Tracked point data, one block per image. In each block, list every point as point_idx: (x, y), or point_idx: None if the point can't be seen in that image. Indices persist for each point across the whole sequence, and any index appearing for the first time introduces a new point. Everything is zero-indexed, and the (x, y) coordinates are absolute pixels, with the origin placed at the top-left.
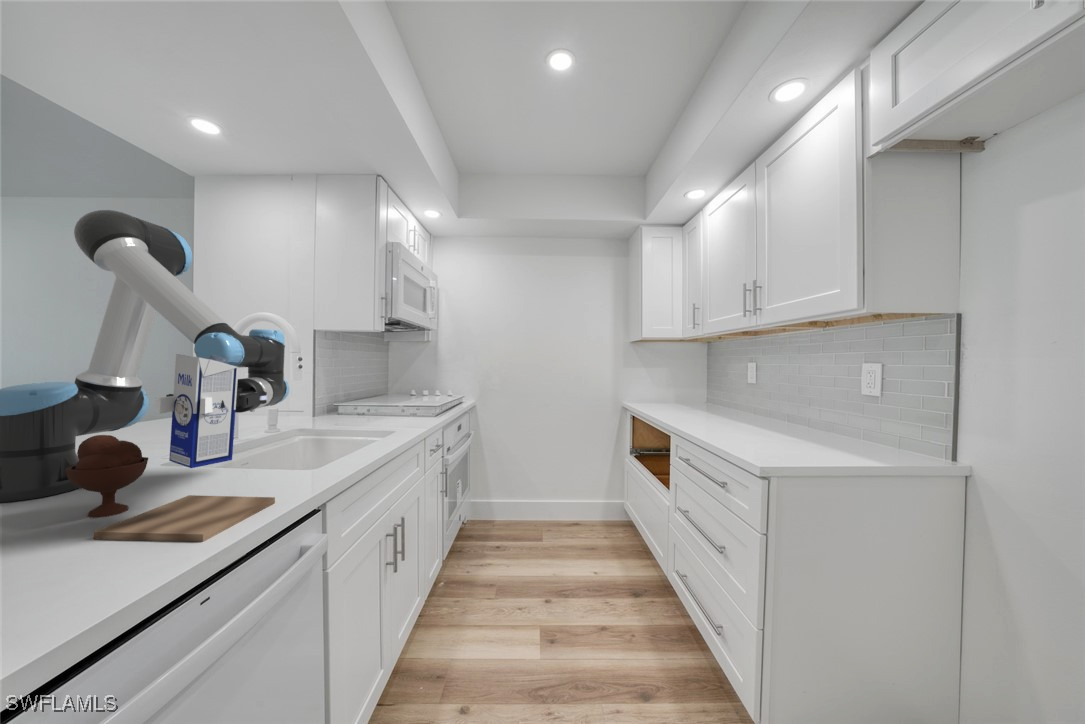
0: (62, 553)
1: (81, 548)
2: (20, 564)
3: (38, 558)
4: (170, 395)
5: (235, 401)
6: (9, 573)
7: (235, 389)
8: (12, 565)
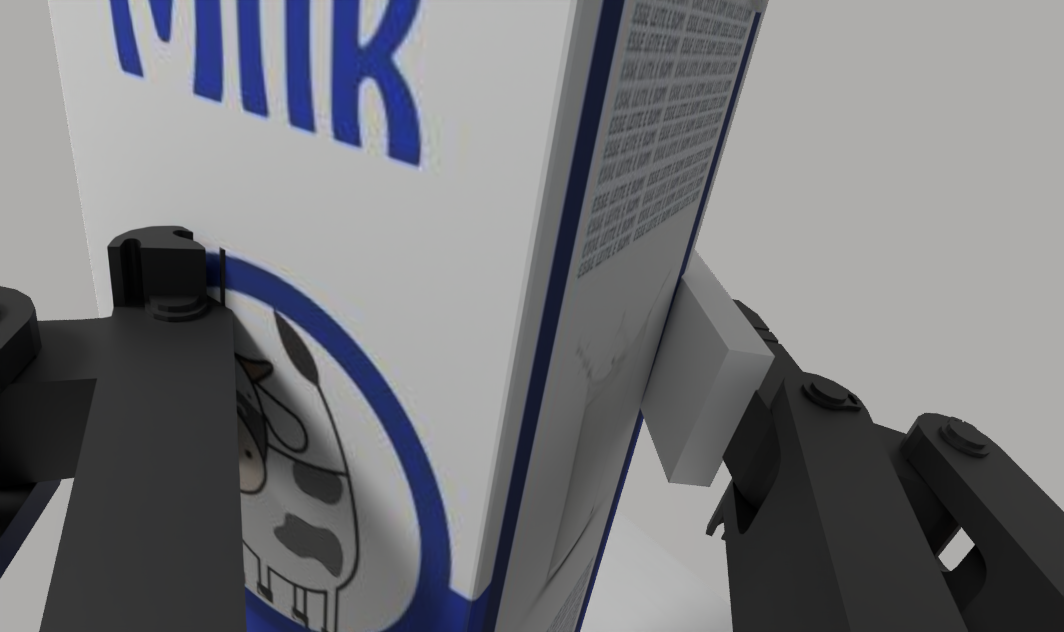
0: (613, 594)
1: (595, 618)
2: (647, 552)
3: (642, 576)
4: (918, 418)
5: (101, 278)
6: (620, 514)
7: (87, 112)
8: (659, 551)
